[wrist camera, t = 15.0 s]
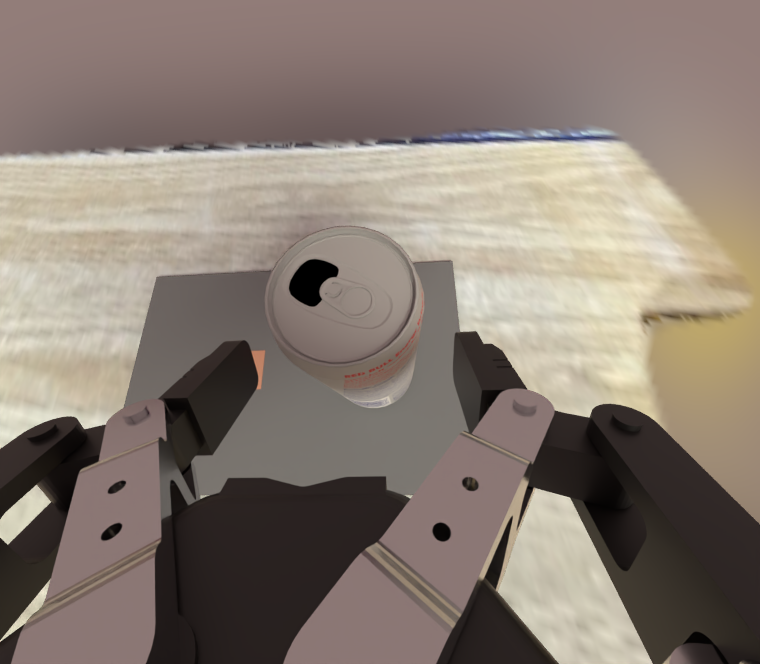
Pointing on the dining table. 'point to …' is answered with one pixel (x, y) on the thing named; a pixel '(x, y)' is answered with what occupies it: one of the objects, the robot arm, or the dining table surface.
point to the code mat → (303, 388)
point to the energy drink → (348, 312)
